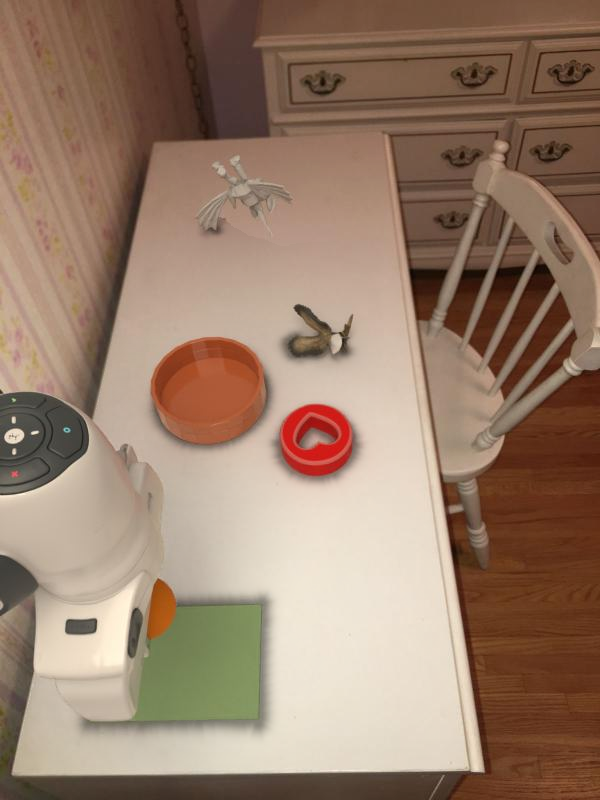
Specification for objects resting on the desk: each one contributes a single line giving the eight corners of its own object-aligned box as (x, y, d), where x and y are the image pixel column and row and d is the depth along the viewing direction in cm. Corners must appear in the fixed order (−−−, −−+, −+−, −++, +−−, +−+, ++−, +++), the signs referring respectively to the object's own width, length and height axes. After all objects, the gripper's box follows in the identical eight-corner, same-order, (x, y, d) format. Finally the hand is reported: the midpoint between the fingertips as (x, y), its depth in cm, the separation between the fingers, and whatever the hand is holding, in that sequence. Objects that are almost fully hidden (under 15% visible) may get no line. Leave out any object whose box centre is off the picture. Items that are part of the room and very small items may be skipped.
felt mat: (89, 722, 68) (88, 721, 68) (108, 608, 75) (107, 608, 75) (258, 719, 68) (258, 718, 67) (261, 605, 75) (261, 604, 74)
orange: (143, 662, 58) (126, 644, 54) (111, 615, 61) (92, 594, 56) (193, 620, 60) (181, 600, 56) (161, 577, 63) (146, 554, 58)
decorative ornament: (322, 404, 91) (322, 391, 89) (366, 449, 86) (367, 437, 84) (267, 439, 88) (265, 427, 86) (309, 489, 83) (309, 477, 81)
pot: (199, 465, 86) (193, 447, 83) (137, 395, 94) (129, 376, 90) (288, 401, 92) (286, 382, 88) (223, 340, 99) (218, 320, 96)
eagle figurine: (350, 318, 99) (293, 306, 99) (356, 310, 92) (294, 297, 92) (341, 366, 99) (283, 354, 98) (345, 362, 92) (283, 349, 91)
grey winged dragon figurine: (309, 227, 110) (271, 177, 98) (220, 256, 117) (174, 212, 105) (307, 181, 114) (270, 127, 102) (220, 212, 121) (176, 165, 109)
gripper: (84, 434, 54) (128, 509, 65) (26, 698, 42) (92, 734, 53) (159, 432, 54) (190, 507, 65) (122, 696, 42) (168, 732, 53)
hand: (146, 611), depth 59 cm, fingers closed on orange, 5 cm apart
